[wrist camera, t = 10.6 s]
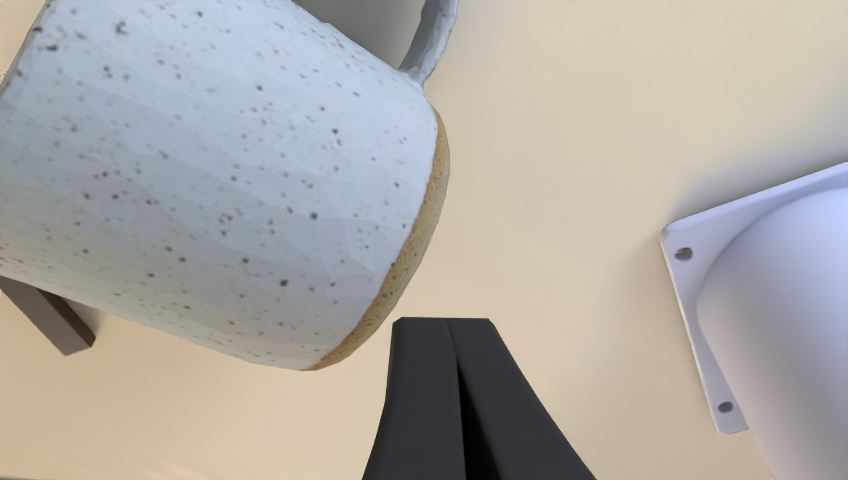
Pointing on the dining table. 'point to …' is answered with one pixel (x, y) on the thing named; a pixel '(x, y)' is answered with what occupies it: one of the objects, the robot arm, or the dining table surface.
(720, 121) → the dining table surface
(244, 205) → the ceramic mug
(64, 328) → the corner guide
